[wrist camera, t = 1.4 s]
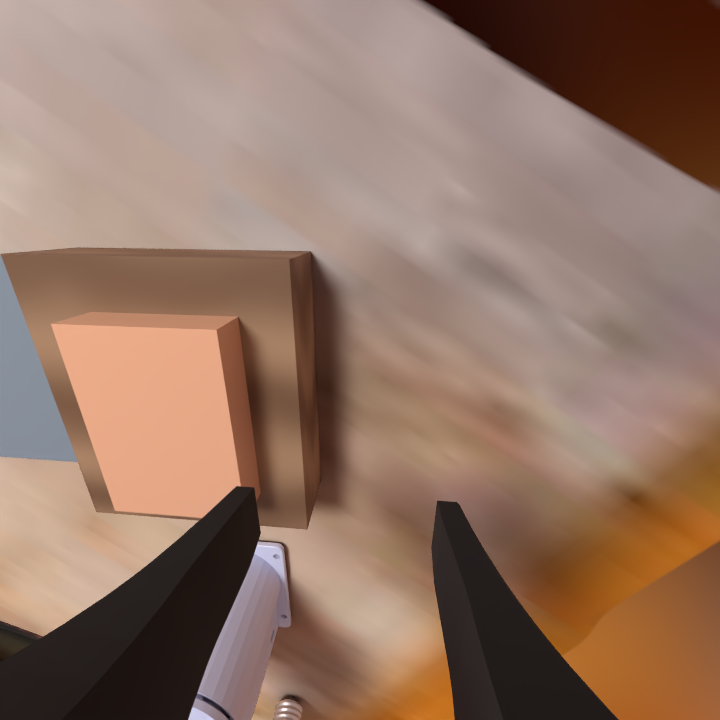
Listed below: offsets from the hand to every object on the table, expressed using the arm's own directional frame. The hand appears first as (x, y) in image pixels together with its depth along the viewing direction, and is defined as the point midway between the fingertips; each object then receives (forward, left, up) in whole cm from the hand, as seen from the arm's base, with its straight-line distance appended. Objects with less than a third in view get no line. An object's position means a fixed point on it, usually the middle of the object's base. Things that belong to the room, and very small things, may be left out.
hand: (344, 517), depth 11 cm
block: (0, +9, -6) cm, 11 cm away
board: (0, +10, -10) cm, 14 cm away
